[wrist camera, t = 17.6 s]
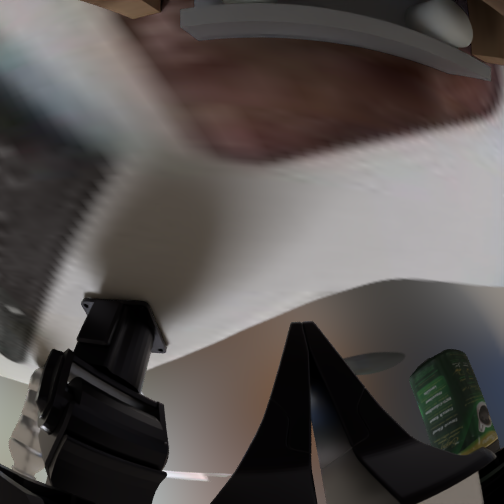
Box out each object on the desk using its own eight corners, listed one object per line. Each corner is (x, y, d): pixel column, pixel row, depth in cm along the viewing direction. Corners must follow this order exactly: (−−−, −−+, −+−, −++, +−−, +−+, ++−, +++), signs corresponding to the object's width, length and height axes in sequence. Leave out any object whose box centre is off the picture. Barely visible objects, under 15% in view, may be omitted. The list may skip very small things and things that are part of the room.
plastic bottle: (46, 378, 32) (17, 475, 16) (30, 357, 28) (-7, 465, 12) (76, 389, 33) (50, 494, 16) (61, 369, 29) (28, 488, 12)
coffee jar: (398, 378, 29) (428, 501, 14) (442, 342, 25) (489, 476, 10) (432, 380, 32) (461, 481, 16) (470, 350, 27) (509, 455, 12)
